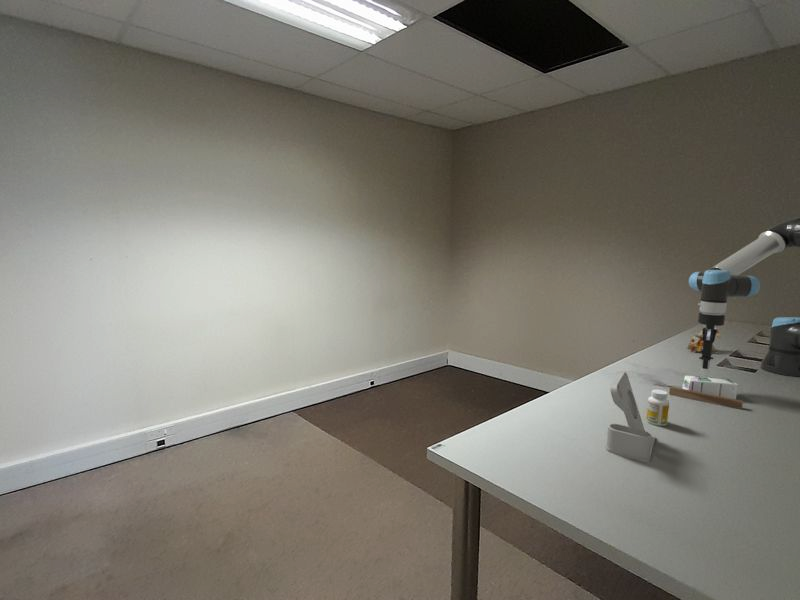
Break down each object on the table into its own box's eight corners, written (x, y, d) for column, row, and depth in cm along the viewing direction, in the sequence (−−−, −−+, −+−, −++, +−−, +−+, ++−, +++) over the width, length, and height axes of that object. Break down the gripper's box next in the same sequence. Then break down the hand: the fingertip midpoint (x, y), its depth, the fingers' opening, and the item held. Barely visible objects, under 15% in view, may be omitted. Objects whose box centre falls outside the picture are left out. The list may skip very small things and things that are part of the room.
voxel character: (683, 353, 205) (697, 337, 211) (705, 363, 198) (719, 345, 204) (689, 337, 198) (703, 321, 204) (711, 347, 191) (726, 329, 197)
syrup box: (738, 384, 140) (690, 379, 144) (736, 400, 141) (688, 395, 145) (729, 378, 146) (683, 374, 149) (727, 394, 146) (681, 389, 150)
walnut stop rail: (669, 392, 147) (670, 386, 147) (741, 407, 135) (742, 400, 134) (669, 394, 146) (669, 388, 145) (741, 409, 133) (742, 402, 133)
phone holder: (648, 464, 101) (655, 394, 98) (603, 451, 107) (609, 385, 104) (655, 437, 114) (662, 375, 112) (615, 427, 120) (620, 368, 118)
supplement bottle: (664, 419, 125) (667, 389, 124) (669, 427, 120) (672, 396, 119) (644, 417, 127) (647, 387, 125) (648, 424, 122) (651, 393, 120)
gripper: (700, 309, 153) (693, 370, 157) (697, 314, 144) (689, 378, 147) (725, 312, 149) (717, 374, 152) (724, 317, 139) (715, 383, 142)
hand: (703, 376), depth 150 cm, fingers closed
